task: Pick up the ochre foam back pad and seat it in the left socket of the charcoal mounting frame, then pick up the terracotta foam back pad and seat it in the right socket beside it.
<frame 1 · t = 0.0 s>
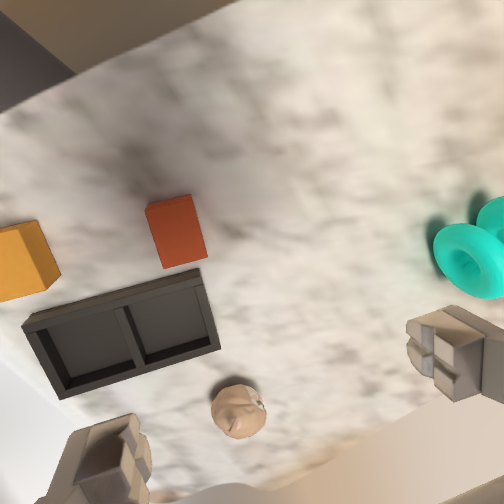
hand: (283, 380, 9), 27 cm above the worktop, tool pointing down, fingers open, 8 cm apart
donuts: (458, 237, 43), on the worktop
garlic bulb: (234, 393, 42), on the worktop
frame: (132, 326, 36), on the worktop
pad a: (25, 254, 31), on the worktop
pad b: (177, 226, 34), on the worktop
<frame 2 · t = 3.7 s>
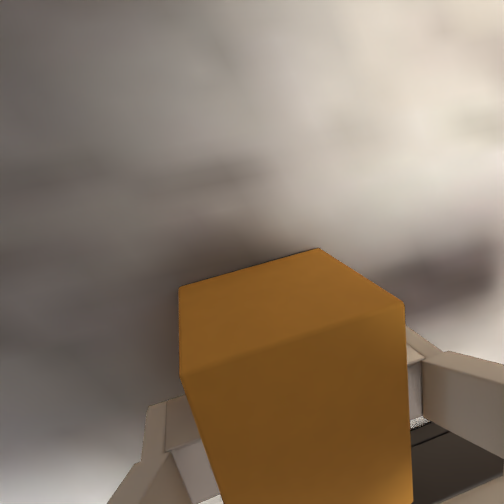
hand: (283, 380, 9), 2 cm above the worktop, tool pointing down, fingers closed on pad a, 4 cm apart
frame: (446, 489, 15), on the worktop
pad a: (268, 346, 10), on the worktop, touching gripper
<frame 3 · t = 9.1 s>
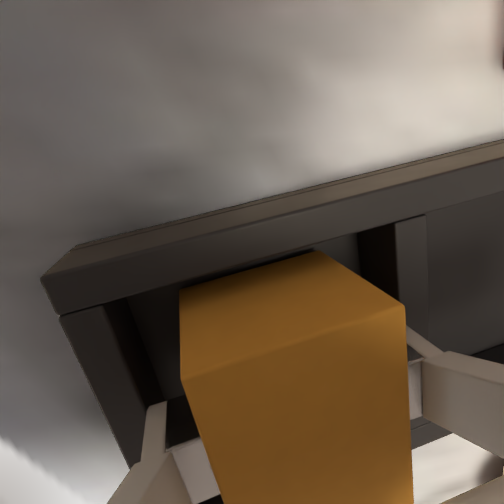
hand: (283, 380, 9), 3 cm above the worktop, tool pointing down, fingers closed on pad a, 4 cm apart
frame: (366, 300, 12), on the worktop
pad a: (269, 348, 10), point 1 cm above the worktop, touching gripper
when the fingers open (3 cm above the worktop, at t = 15.5 s): pad a stays where it is, resting on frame.
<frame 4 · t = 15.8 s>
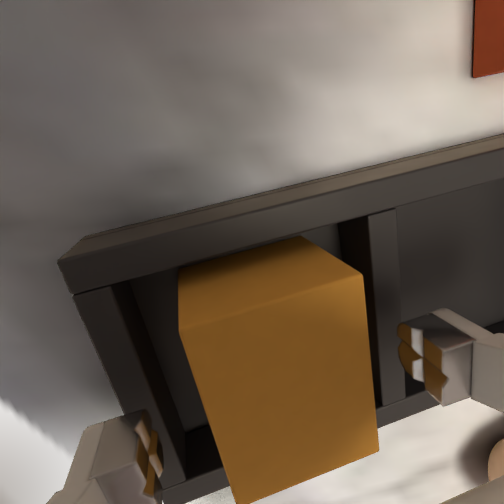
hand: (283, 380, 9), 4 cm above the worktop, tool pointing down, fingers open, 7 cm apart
garlic bulb: (502, 447, 19), on the worktop
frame: (349, 288, 13), on the worktop
pad a: (258, 324, 12), point 1 cm above the worktop, touching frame
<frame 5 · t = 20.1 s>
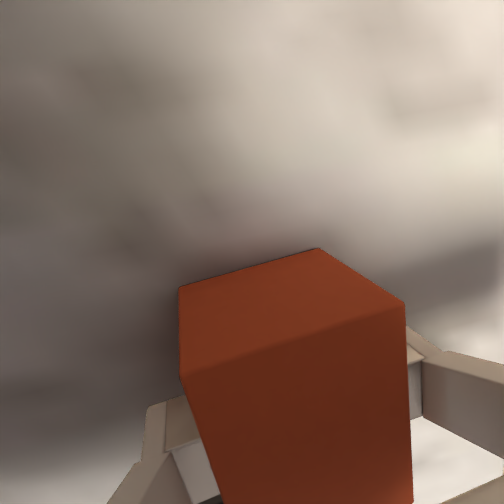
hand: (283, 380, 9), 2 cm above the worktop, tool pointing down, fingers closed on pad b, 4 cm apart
pad b: (268, 347, 10), on the worktop, touching gripper
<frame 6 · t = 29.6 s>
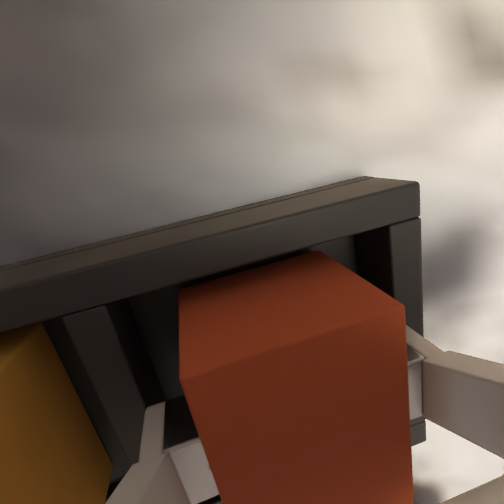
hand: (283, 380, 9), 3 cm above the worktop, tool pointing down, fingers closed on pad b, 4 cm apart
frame: (144, 369, 11), on the worktop
pad a: (6, 423, 10), point 1 cm above the worktop, touching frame
pad b: (268, 349, 10), point 1 cm above the worktop, touching gripper
when the fingers open (3 cm above the worktop, at t = 31.8 s): pad b stays where it is, resting on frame.
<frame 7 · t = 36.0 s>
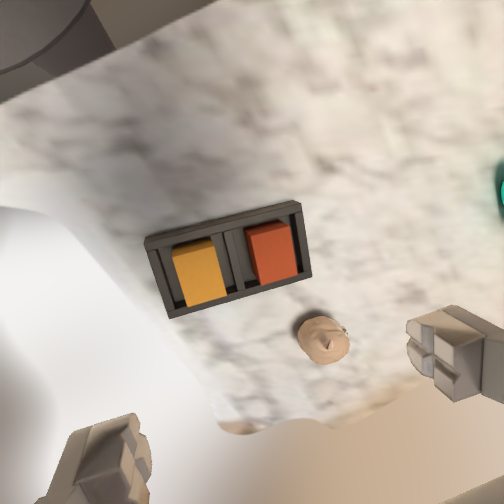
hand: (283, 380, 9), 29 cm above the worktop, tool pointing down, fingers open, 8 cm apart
garlic bulb: (313, 328, 44), on the worktop
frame: (231, 255, 38), on the worktop
pad a: (198, 265, 37), point 1 cm above the worktop, touching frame
pad b: (265, 246, 38), point 1 cm above the worktop, touching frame
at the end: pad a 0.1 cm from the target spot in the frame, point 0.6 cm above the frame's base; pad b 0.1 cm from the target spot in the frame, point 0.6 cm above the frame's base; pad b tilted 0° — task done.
